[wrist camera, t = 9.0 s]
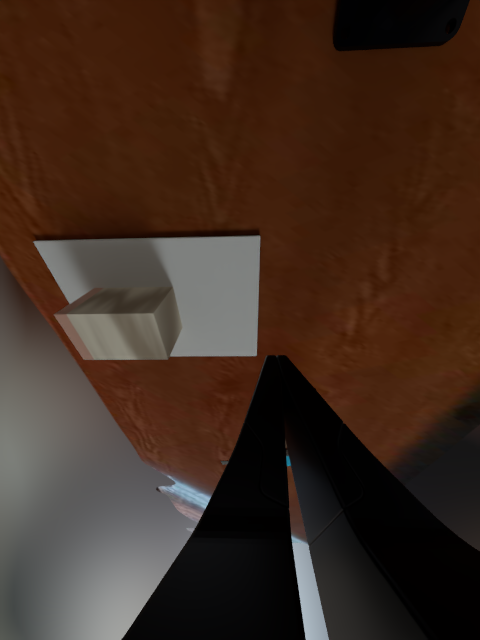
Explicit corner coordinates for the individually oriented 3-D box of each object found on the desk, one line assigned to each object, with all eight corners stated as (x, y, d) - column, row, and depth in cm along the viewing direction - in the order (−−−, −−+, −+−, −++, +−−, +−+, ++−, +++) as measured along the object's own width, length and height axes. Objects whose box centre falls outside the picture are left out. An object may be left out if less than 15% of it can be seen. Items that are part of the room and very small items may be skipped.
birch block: (153, 313, 15) (53, 314, 15) (168, 359, 18) (83, 359, 18) (173, 286, 19) (94, 288, 20) (182, 327, 22) (113, 328, 22)
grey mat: (259, 235, 17) (260, 236, 16) (256, 353, 25) (256, 355, 24) (37, 240, 17) (33, 241, 17) (102, 354, 25) (100, 356, 25)
